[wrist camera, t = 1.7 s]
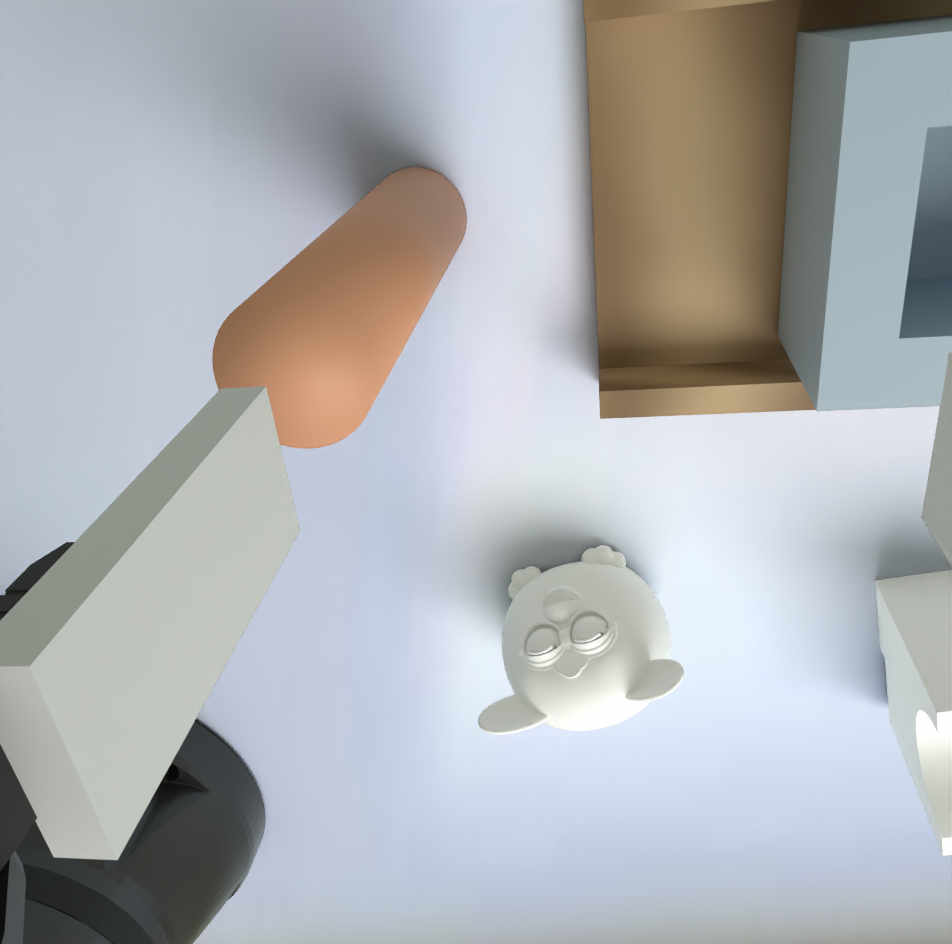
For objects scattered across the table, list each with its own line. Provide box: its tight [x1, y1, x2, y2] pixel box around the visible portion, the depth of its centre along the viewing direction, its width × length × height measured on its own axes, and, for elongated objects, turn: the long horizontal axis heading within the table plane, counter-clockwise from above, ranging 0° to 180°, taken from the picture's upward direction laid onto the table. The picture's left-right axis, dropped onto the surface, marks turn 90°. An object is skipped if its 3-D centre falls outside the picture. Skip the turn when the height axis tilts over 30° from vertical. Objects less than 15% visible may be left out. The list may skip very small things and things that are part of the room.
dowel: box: [213, 167, 467, 448], centre depth 24 cm, size 3×3×14 cm
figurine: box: [478, 545, 684, 735], centre depth 34 cm, size 8×6×7 cm
